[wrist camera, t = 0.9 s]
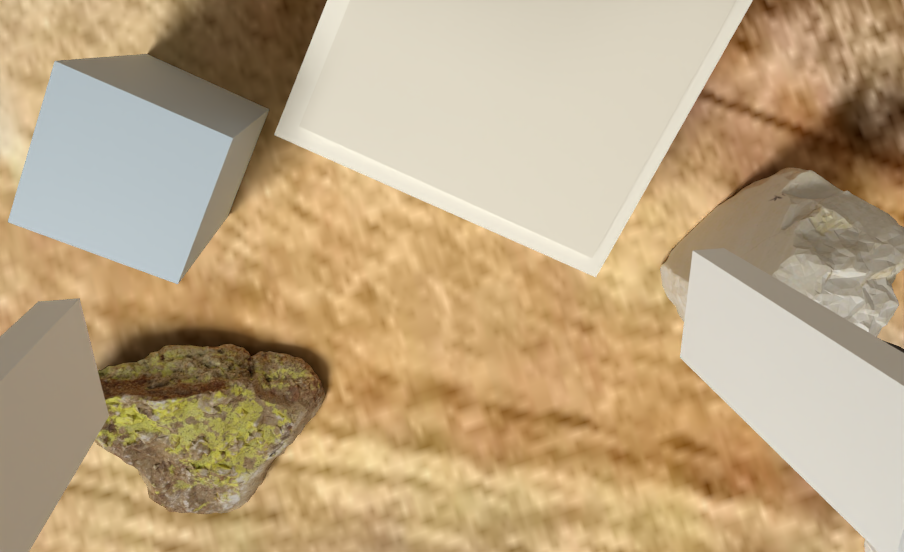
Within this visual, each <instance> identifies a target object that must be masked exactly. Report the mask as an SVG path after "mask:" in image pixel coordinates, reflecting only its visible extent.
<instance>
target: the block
mask: <svg viewBox="0 0 904 552" xmlns="http://www.w3.org/2000/svg"><path fill="white" fill-rule="evenodd" d="M268 112H269V109H268V108H265V107H263V106H261V105H259V104H257V103H254V102H252V101H250V100H248V99H245V98H243V97H241V96H239V95H237V94H234V93H232V92H230V91H228V90H226V89H223V88H221V87H219V86H217V85H215V84H212V83H210V82H208V81H206V80H203V79H201V78H199V77H197V76H195V75H192V74H190V73H188V72H186V71H184V70H181V69H179V68H177V67H175V66H172V65H170V64H168V63H166V62H164V61H161V60H159V59H157V58H155V57H153V56H150V55H148V54H140V55H127V56H114V57H101V58H87V59H74V60H61V61H55V62H54V66H53V69H52V72H51V76H50V79H49V83H48V86H47V90H46V93H45V96H44V100H43V103H42V107H41V110H40V114H39V117H38V120H37V124H36V127H35V131H34V134H33V137H32V141H31V144H30V148H29V151H28V155H27V158H26V161H25V165H24V168H23V172H22V175H21V178H20V182H19V185H18V189H17V192H16V196H15V199H14V202H13V206H12V209H11V213H10V216H9V219H8V222H9V223H12V224H14V225H17V226H20V227H23V228H25V229H28V230H31V231H34V232H36V233H39V234H42V235H45V236H47V237H50V238H53V239H56V240H58V241H61V242H64V243H66V244H69V245H72V246H75V247H77V248H80V249H83V250H86V251H88V252H91V253H94V254H97V255H99V256H102V257H105V258H107V259H110V260H113V261H116V262H118V263H121V264H124V265H127V266H129V267H132V268H135V269H138V270H140V271H143V272H146V273H149V274H151V275H154V276H157V277H159V278H162V279H165V280H168V281H170V282H173V283H176V284H178V283H179V282H180V281H181V279H182V278H183V277H184V275H185V274H186V272H187V271H188V270H189V268H190V267H191V266H192V264H193V263H194V262H195V260H196V259H197V258H198V256H199V255H200V253H201V252H202V251H203V249H204V248H205V247H206V245H207V244H208V243H209V241H210V240H211V239H212V237H213V236H214V235H215V233H216V232H217V230H218V229H219V228H220V226H221V225H222V224H223V222H224V221H225V220H226V218H227V217H228V215H229V212H230V210H231V207H232V204H233V202H234V199H235V197H236V194H237V192H238V189H239V186H240V184H241V181H242V179H243V176H244V174H245V171H246V168H247V166H248V163H249V161H250V158H251V156H252V153H253V150H254V148H255V145H256V143H257V140H258V138H259V135H260V132H261V130H262V127H263V125H264V122H265V120H266V117H267V114H268Z"/></svg>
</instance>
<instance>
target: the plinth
mask: <svg viewBox="0 0 904 552" xmlns="http://www.w3.org/2000/svg"><path fill="white" fill-rule="evenodd" d="M752 1H753V0H327V2H326V5H325V7H324V10H323V12H322V15H321V17H320V20H319V22H318V25H317V27H316V30H315V33H314V35H313V38H312V40H311V43H310V45H309V48H308V50H307V53H306V55H305V58H304V60H303V63H302V65H301V68H300V70H299V73H298V76H297V78H296V81H295V83H294V86H293V88H292V91H291V93H290V96H289V98H288V101H287V103H286V106H285V108H284V111H283V114H282V116H281V119H280V121H279V124H278V126H277V129H276V131H275V134H274V135H275V136H278V137H280V138H282V139H284V140H287V141H289V142H291V143H293V144H296V145H298V146H300V147H302V148H305V149H307V150H309V151H311V152H314V153H316V154H318V155H321V156H323V157H325V158H327V159H330V160H332V161H334V162H336V163H339V164H341V165H343V166H345V167H348V168H350V169H352V170H354V171H357V172H359V173H361V174H363V175H366V176H368V177H370V178H373V179H375V180H377V181H379V182H382V183H384V184H386V185H388V186H391V187H393V188H395V189H397V190H400V191H402V192H404V193H406V194H409V195H411V196H413V197H415V198H418V199H420V200H422V201H425V202H427V203H429V204H431V205H434V206H436V207H438V208H440V209H443V210H445V211H447V212H449V213H452V214H454V215H456V216H458V217H461V218H463V219H465V220H467V221H470V222H472V223H474V224H477V225H479V226H481V227H483V228H486V229H488V230H490V231H492V232H495V233H497V234H499V235H501V236H504V237H506V238H508V239H510V240H513V241H515V242H517V243H519V244H522V245H524V246H526V247H529V248H531V249H533V250H535V251H538V252H540V253H542V254H544V255H547V256H549V257H551V258H553V259H556V260H558V261H560V262H562V263H565V264H567V265H569V266H571V267H574V268H576V269H578V270H581V271H583V272H585V273H587V274H590V275H592V276H594V277H596V276H597V274H598V273H599V271H600V269H601V267H602V265H603V264H604V262H605V260H606V258H607V257H608V255H609V253H610V251H611V250H612V248H613V246H614V244H615V243H616V241H617V239H618V237H619V235H620V234H621V232H622V230H623V228H624V227H625V225H626V223H627V221H628V220H629V218H630V216H631V214H632V213H633V211H634V209H635V207H636V205H637V204H638V202H639V200H640V198H641V197H642V195H643V193H644V191H645V190H646V188H647V186H648V184H649V183H650V181H651V179H652V177H653V175H654V174H655V172H656V170H657V168H658V167H659V165H660V163H661V161H662V160H663V158H664V156H665V154H666V153H667V151H668V149H669V147H670V145H671V144H672V142H673V140H674V138H675V137H676V135H677V133H678V131H679V130H680V128H681V126H682V124H683V123H684V121H685V119H686V117H687V115H688V114H689V112H690V110H691V108H692V107H693V105H694V103H695V101H696V100H697V98H698V96H699V94H700V93H701V91H702V89H703V87H704V85H705V84H706V82H707V80H708V78H709V77H710V75H711V73H712V71H713V70H714V68H715V66H716V64H717V63H718V61H719V59H720V57H721V55H722V54H723V52H724V50H725V48H726V47H727V45H728V43H729V41H730V40H731V38H732V36H733V34H734V33H735V31H736V29H737V27H738V25H739V24H740V22H741V20H742V18H743V17H744V15H745V13H746V11H747V10H748V8H749V6H750V4H751V3H752Z"/></svg>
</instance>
